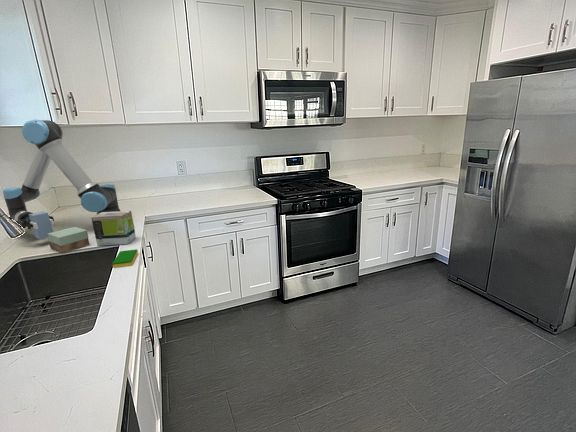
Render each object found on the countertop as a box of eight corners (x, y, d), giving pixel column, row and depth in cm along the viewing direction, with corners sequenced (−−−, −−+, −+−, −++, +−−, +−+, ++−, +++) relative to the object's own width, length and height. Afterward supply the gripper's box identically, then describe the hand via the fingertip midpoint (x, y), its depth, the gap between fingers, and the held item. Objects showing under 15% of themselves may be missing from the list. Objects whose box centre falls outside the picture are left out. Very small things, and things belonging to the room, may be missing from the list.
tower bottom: (78, 241, 161) (76, 234, 160) (89, 246, 155) (88, 238, 154) (51, 249, 152) (49, 241, 151) (62, 254, 145) (60, 246, 144)
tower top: (76, 234, 160) (75, 226, 159) (88, 238, 154) (86, 230, 153) (49, 241, 151) (47, 233, 150) (60, 245, 144) (58, 237, 143)
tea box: (136, 237, 163) (131, 210, 159) (127, 244, 153) (122, 215, 149) (107, 239, 163) (101, 211, 159) (96, 246, 153) (90, 216, 149)
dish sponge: (113, 268, 128) (111, 263, 127) (121, 256, 141) (120, 251, 140) (132, 266, 130) (131, 260, 129) (138, 254, 143) (137, 249, 142)
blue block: (49, 234, 162) (42, 211, 159) (54, 235, 159) (47, 212, 155) (35, 237, 157) (28, 214, 154) (40, 239, 154) (33, 215, 151)
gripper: (49, 220, 175) (68, 226, 162) (5, 230, 159) (23, 237, 147) (45, 207, 172) (64, 212, 160) (1, 216, 157) (18, 222, 145)
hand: (44, 224), depth 153 cm, fingers closed on blue block, 6 cm apart
